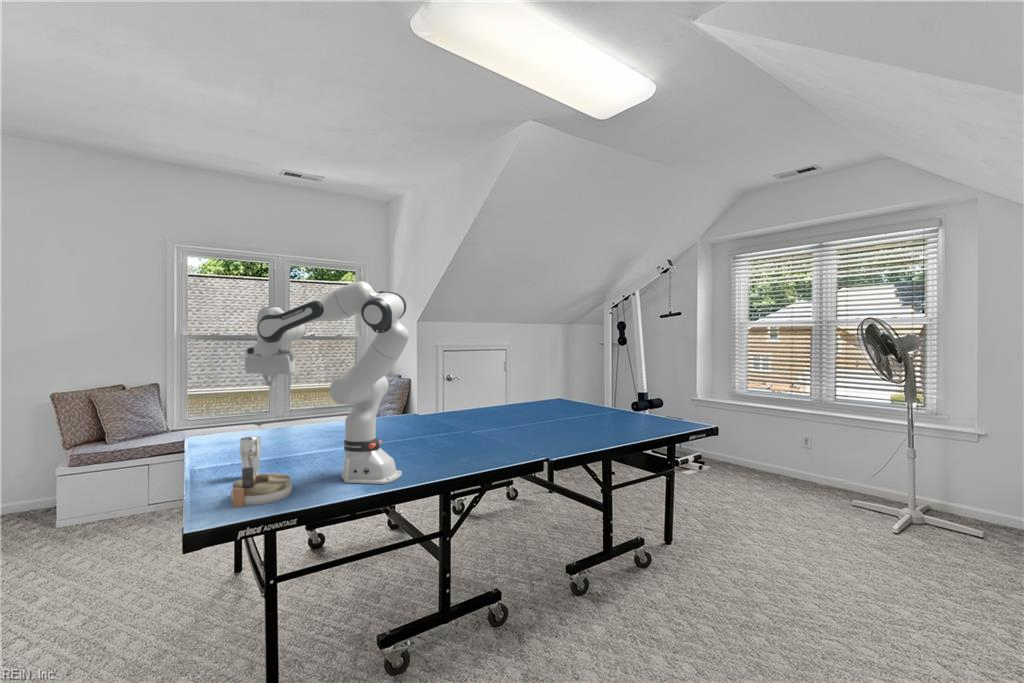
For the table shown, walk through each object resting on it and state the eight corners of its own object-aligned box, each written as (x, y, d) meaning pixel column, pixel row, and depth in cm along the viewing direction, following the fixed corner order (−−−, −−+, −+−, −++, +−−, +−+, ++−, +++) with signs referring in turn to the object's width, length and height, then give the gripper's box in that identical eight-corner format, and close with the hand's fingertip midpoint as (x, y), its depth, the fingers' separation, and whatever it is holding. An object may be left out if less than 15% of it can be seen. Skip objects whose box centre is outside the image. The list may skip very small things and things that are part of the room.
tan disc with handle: (257, 477, 177) (257, 455, 177) (300, 480, 173) (300, 458, 173) (220, 493, 160) (220, 468, 160) (266, 497, 157) (266, 472, 157)
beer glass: (235, 479, 185) (235, 439, 184) (251, 474, 191) (251, 435, 191) (249, 481, 182) (249, 440, 182) (265, 476, 189) (264, 436, 188)
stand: (303, 489, 173) (302, 474, 173) (260, 509, 154) (259, 492, 154) (260, 485, 178) (260, 469, 178) (213, 503, 159) (213, 486, 159)
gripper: (299, 349, 190) (299, 385, 191) (253, 348, 195) (254, 383, 196) (287, 350, 184) (288, 387, 185) (241, 349, 189) (241, 385, 190)
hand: (270, 385), depth 190 cm, fingers closed
